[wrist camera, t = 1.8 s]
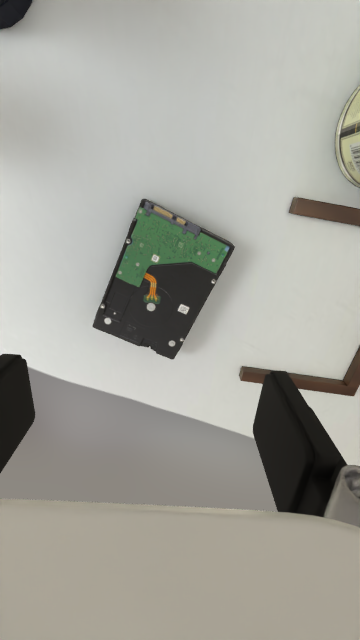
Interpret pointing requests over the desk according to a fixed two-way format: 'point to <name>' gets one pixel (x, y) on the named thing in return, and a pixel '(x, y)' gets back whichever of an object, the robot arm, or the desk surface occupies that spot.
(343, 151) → the coffee can
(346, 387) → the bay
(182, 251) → the disk drive
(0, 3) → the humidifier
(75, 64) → the desk surface
